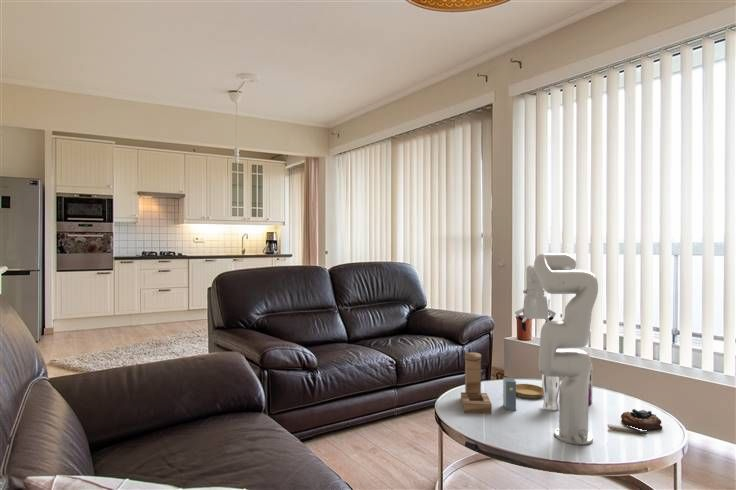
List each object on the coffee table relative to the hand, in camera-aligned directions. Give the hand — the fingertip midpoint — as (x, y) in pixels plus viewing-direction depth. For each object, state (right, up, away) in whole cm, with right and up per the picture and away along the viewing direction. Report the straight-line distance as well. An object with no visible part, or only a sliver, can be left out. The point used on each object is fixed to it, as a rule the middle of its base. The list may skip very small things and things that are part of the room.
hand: (535, 330), depth 208 cm
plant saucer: (-2, -30, +4) cm, 30 cm away
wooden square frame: (-29, -30, -9) cm, 43 cm away
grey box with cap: (-16, -30, -13) cm, 36 cm away
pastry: (+29, -31, -32) cm, 53 cm away
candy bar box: (+16, -30, -6) cm, 34 cm away
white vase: (+1, -30, -14) cm, 33 cm away
